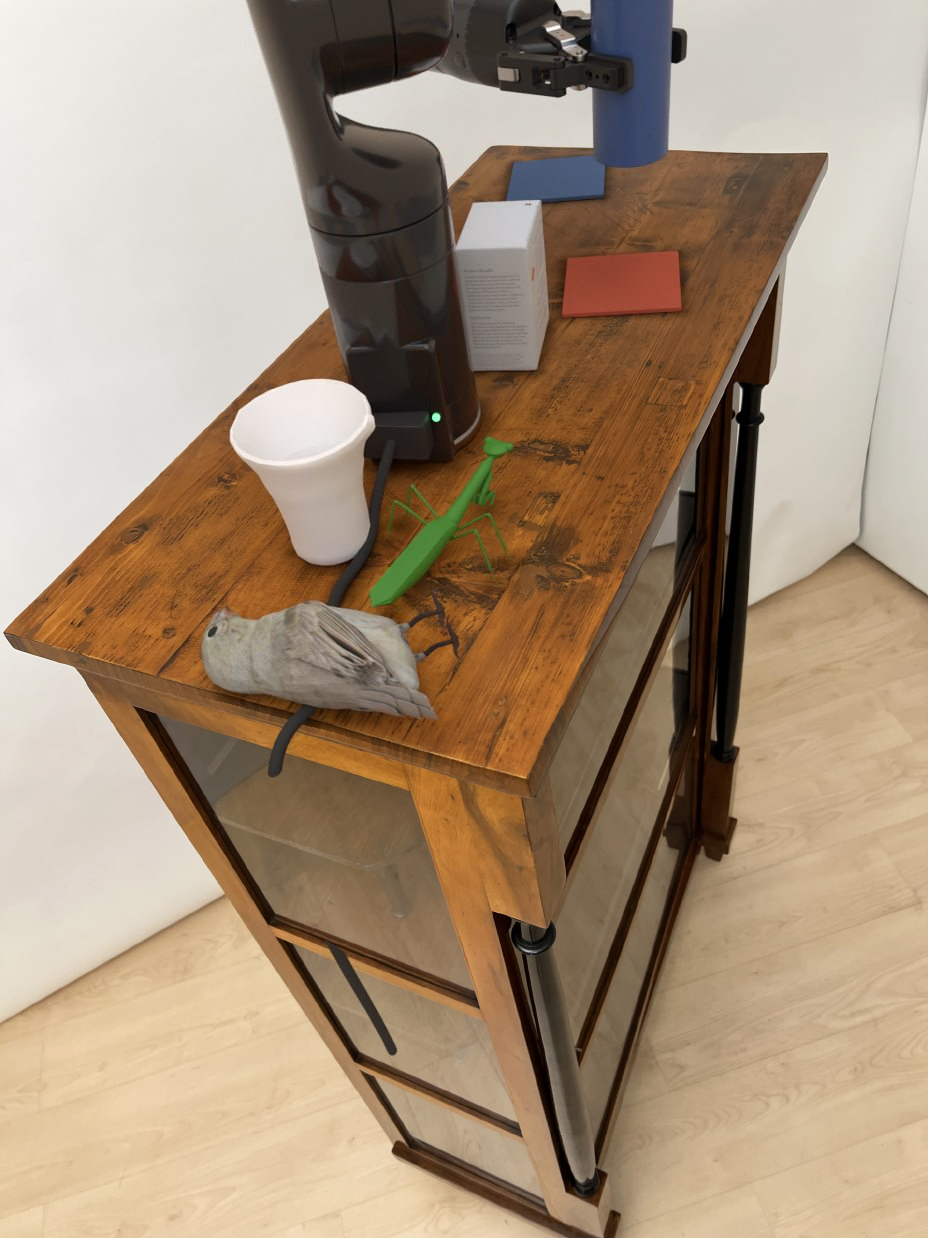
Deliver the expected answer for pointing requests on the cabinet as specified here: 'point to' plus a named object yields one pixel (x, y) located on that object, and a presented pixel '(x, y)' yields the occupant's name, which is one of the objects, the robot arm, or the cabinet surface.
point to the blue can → (639, 119)
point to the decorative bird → (322, 657)
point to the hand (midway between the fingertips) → (657, 60)
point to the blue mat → (557, 179)
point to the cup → (311, 462)
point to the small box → (504, 284)
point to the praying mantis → (439, 531)
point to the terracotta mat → (622, 284)
